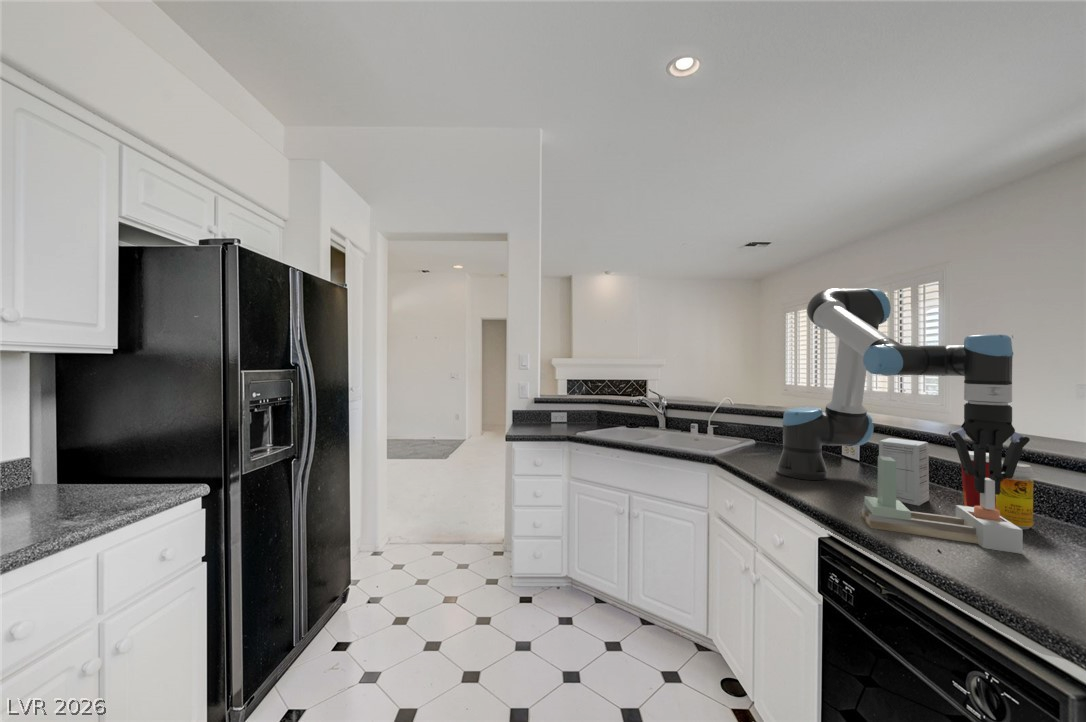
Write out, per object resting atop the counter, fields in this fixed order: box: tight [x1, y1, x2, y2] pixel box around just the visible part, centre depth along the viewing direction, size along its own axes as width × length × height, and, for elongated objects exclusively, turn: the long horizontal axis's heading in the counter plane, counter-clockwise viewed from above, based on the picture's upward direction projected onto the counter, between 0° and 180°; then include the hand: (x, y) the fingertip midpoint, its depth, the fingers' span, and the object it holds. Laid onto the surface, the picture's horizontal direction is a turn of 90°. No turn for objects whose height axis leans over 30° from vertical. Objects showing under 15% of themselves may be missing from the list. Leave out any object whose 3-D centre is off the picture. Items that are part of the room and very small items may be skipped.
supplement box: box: [878, 437, 930, 507], centre depth 124 cm, size 10×9×17 cm
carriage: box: [864, 455, 911, 520], centre depth 104 cm, size 9×7×13 cm
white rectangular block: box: [955, 504, 1024, 554], centre depth 96 cm, size 14×6×5 cm, turn 154°
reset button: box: [974, 506, 1000, 521], centre depth 96 cm, size 4×4×4 cm
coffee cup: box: [960, 450, 1004, 509], centre depth 116 cm, size 8×8×15 cm
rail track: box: [861, 504, 979, 545], centre depth 101 cm, size 9×19×3 cm, turn 64°
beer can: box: [996, 461, 1034, 530], centre depth 104 cm, size 6×6×15 cm
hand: (987, 507), depth 96 cm, fingers closed
